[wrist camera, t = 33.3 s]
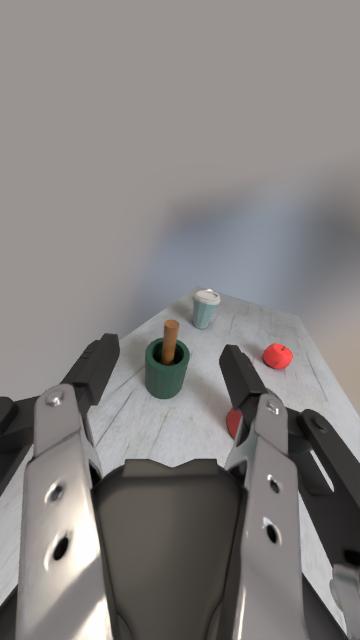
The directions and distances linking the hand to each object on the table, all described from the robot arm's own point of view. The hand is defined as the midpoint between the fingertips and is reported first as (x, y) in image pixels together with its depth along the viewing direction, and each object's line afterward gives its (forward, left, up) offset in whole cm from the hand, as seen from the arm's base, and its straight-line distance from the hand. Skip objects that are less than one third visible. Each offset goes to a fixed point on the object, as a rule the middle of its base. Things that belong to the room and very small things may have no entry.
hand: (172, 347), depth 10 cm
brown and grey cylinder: (-2, +14, -26) cm, 29 cm away
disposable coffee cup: (+7, +44, -27) cm, 52 cm away
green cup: (-2, +14, -27) cm, 30 cm away
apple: (+33, +29, -27) cm, 51 cm away
